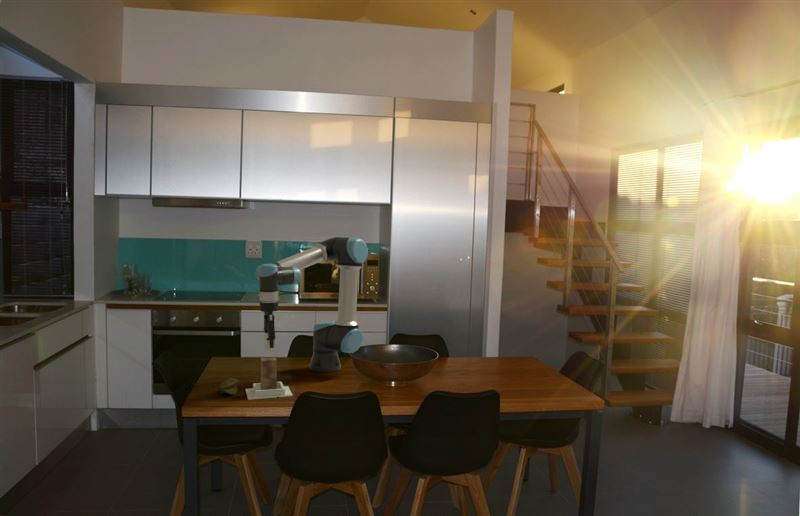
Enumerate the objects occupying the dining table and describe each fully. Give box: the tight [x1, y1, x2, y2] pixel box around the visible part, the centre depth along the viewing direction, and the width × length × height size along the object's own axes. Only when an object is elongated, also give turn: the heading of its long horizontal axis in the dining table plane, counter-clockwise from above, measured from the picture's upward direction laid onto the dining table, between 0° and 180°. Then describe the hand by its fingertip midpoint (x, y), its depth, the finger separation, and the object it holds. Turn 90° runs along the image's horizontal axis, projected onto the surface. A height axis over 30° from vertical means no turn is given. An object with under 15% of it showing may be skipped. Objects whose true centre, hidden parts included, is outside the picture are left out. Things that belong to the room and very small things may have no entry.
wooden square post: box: [260, 356, 278, 390], centre depth 258 cm, size 6×5×14 cm
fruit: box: [219, 377, 240, 396], centre depth 257 cm, size 11×12×7 cm
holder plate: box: [245, 381, 294, 401], centre depth 258 cm, size 18×14×3 cm
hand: (269, 351), depth 257 cm, fingers open, 13 cm apart
